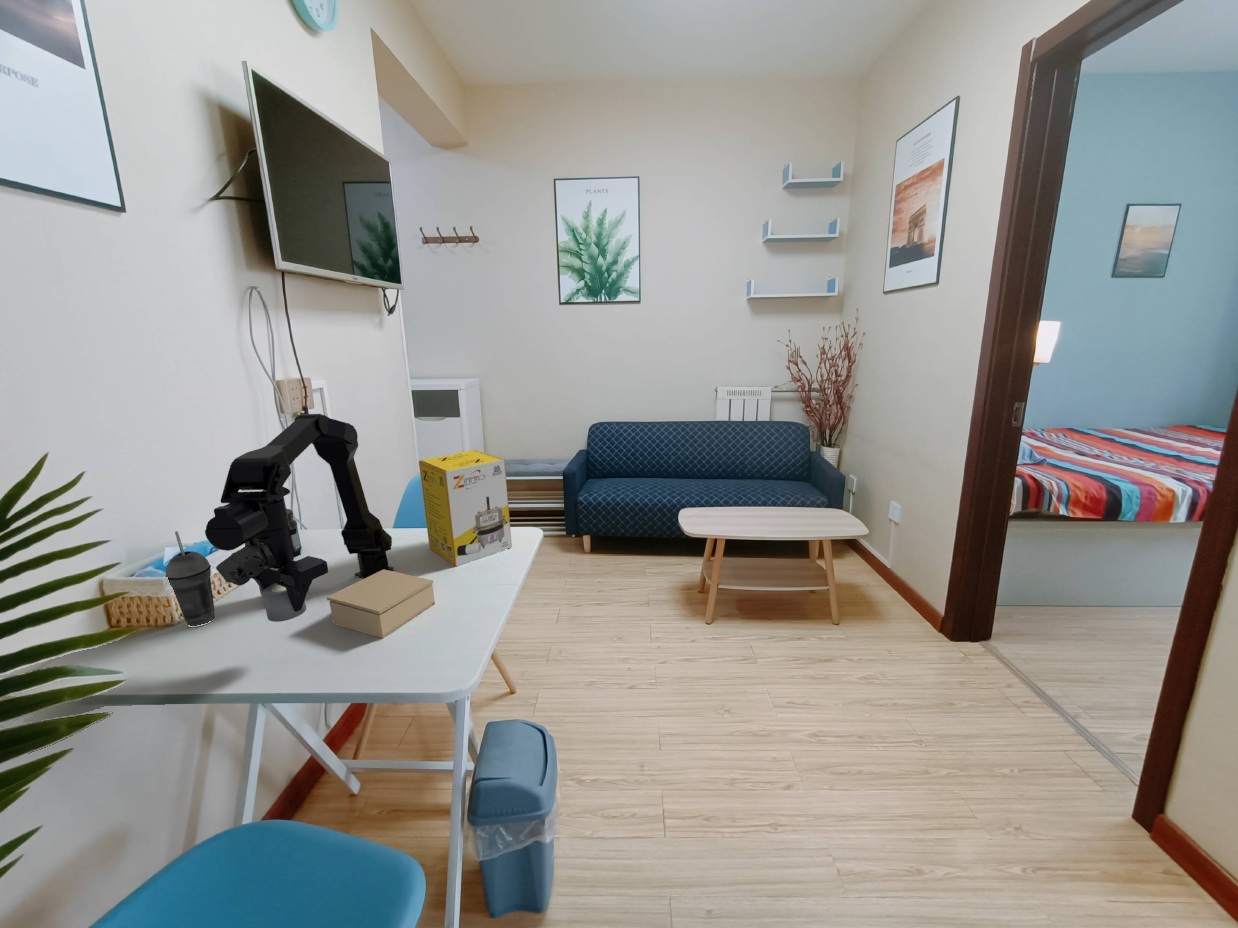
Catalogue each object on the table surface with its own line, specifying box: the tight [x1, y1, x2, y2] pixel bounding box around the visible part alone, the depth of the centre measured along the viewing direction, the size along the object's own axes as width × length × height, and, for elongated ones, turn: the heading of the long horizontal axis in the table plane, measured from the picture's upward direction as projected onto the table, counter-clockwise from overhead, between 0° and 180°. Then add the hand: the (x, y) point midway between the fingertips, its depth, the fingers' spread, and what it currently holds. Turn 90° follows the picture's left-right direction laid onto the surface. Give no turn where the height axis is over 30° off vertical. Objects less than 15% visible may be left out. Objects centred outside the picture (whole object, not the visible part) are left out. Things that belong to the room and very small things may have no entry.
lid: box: [326, 569, 434, 614], centre depth 108 cm, size 15×14×1 cm
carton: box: [329, 583, 436, 639], centre depth 109 cm, size 14×14×5 cm
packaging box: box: [418, 449, 513, 567], centre depth 139 cm, size 16×16×25 cm
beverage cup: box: [165, 530, 216, 626], centre depth 106 cm, size 7×7×20 cm
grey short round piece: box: [262, 583, 307, 623], centre depth 93 cm, size 6×6×5 cm
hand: (286, 607), depth 94 cm, fingers closed on grey short round piece, 6 cm apart
